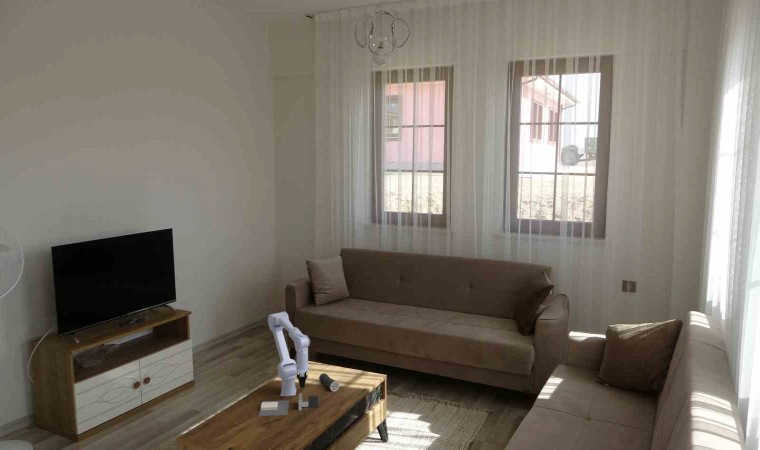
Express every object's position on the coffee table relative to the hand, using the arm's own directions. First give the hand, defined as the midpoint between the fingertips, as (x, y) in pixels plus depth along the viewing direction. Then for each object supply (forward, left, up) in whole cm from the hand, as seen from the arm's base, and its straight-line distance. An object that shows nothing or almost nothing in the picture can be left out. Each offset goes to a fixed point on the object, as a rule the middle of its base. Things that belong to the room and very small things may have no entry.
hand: (302, 384), depth 292 cm
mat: (+6, -14, -10) cm, 18 cm away
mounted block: (+6, +3, -10) cm, 12 cm away
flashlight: (-20, +14, -10) cm, 26 cm away
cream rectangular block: (+6, -12, -8) cm, 16 cm away
